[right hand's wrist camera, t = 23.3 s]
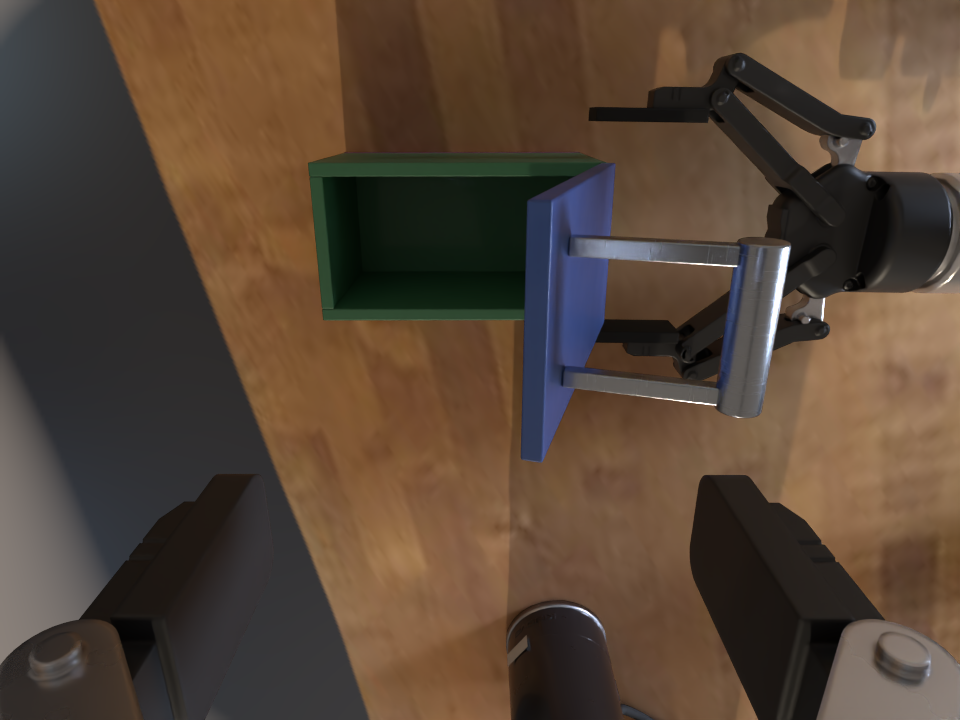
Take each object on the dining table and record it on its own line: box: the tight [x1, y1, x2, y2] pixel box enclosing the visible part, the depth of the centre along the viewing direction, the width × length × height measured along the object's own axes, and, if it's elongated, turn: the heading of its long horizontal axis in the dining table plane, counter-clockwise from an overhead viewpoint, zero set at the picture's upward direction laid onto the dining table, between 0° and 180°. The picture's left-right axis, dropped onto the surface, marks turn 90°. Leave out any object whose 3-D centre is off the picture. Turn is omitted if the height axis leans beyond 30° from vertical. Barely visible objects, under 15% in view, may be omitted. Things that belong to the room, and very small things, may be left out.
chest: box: [308, 152, 606, 320], centre depth 41 cm, size 16×9×10 cm, turn 90°
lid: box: [521, 163, 791, 463], centre depth 27 cm, size 17×9×8 cm
